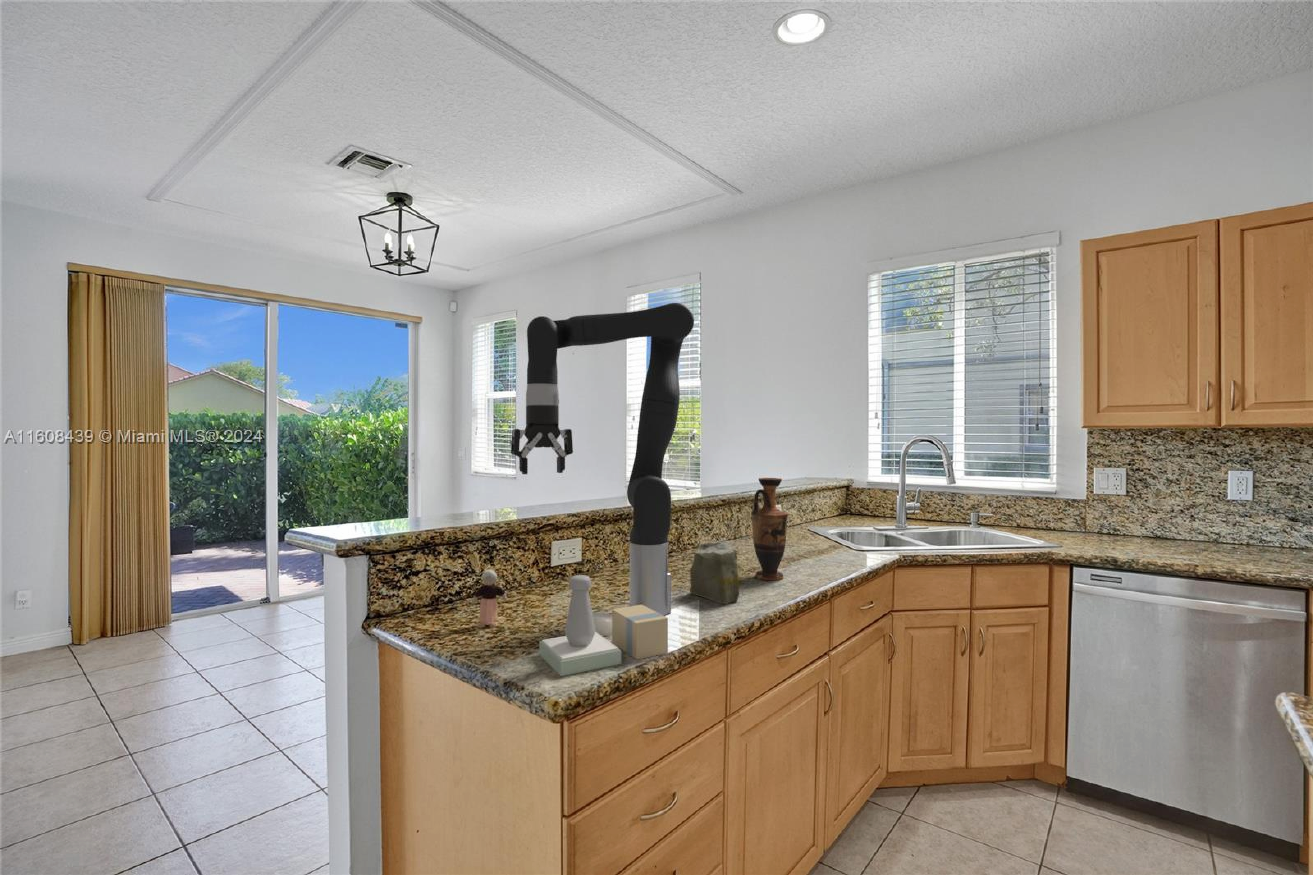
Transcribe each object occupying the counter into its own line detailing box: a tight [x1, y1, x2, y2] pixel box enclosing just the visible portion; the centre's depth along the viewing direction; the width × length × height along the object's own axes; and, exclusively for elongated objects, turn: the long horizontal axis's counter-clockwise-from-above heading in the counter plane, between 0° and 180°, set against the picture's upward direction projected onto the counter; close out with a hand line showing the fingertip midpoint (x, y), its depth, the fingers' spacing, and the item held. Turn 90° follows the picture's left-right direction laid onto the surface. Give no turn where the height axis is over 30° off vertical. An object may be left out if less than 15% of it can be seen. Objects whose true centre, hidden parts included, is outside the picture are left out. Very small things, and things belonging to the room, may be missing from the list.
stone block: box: [689, 538, 740, 605], centre depth 163 cm, size 10×15×15 cm
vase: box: [750, 477, 789, 581], centre depth 184 cm, size 11×11×30 cm
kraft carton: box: [611, 605, 669, 661], centre depth 124 cm, size 7×11×7 cm, turn 29°
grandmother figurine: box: [471, 569, 508, 629], centre depth 138 cm, size 8×4×13 cm, turn 112°
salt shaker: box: [564, 574, 595, 647], centre depth 118 cm, size 6×6×13 cm
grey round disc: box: [592, 612, 612, 637], centre depth 134 cm, size 6×6×3 cm
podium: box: [539, 631, 622, 677], centre depth 118 cm, size 12×12×3 cm
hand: (542, 473), depth 143 cm, fingers open, 8 cm apart
